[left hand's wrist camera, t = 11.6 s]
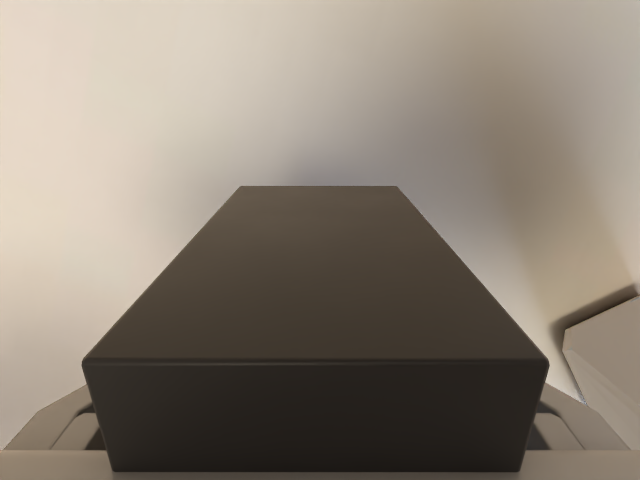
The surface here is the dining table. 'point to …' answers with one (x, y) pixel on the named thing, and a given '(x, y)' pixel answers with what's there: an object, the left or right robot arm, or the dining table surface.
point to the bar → (316, 347)
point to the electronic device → (609, 366)
